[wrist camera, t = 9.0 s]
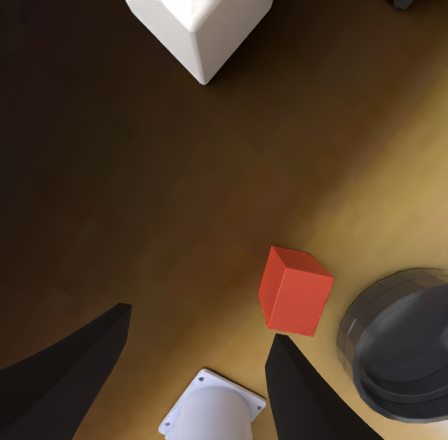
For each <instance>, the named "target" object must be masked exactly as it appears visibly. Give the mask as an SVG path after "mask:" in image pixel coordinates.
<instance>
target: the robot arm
mask: <svg viewBox="0 0 448 440" xmlns="http://www.w3.org/2000/svg"><path fill="white" fill-rule="evenodd" d="M131 309H132V305H129V304H124V303H118V304H116V305H115V306H113V307H112V308H111V309H109V310H108V311H106V312H105V313H103V314H102V315H100V316H99V317H97V318H96V319H94V320H93V321H91V322H90V323H88V324H87V325H85V326H83V327H82V328H80V329H79V330H77V331H76V332H74V333H72V334H71V335H69V336H67V337H65V338H64V339H62V340H60V341H59V342H57V343H55V344H53V345H52V346H50V347H48V348H46V349H44V350H42V351H40V352H38V353H36V354H34V355H32V356H30V357H28V358H26V359H24V360H22V361H20V362H18V363H16V364H13V365H11V366H9V367H7V368H4V369H2V370H0V440H72V438H73V436H74V434H75V432H76V430H77V429H78V427H79V425H80V423H81V421H82V420H83V418H84V416H85V414H86V413H87V411H88V409H89V408H90V406H91V404H92V403H93V401H94V399H95V398H96V396H97V394H98V393H99V391H100V389H101V388H102V386H103V384H104V383H105V381H106V379H107V378H108V376H109V374H110V373H111V371H112V369H113V368H114V366H115V364H116V362H117V360H118V358H119V356H120V354H121V352H122V350H123V347H124V345H125V343H126V341H127V335H128V328H129V322H130V316H131ZM265 372H266V382H267V390H268V395H269V399H270V404H271V409H272V413H273V418H274V422H275V426H276V431H277V435H278V440H384V439H383V438H382V437H381V436H380V435H379V434H378V433H376V432H375V431H374V430H373V429H372V428H371V427H370V426H369V425H368V424H367V423H366V422H364V421H363V420H362V419H361V418H360V417H359V416H358V415H357V414H356V413H355V412H354V411H353V410H352V409H351V408H350V407H349V406H348V405H347V404H346V403H345V402H344V401H343V400H342V399H341V398H340V397H339V395H338V394H337V393H336V392H335V391H334V390H333V389H332V388H331V387H330V386H329V384H328V383H327V382H326V381H325V380H324V379H323V378H322V376H321V375H320V374H319V373H318V372H317V371H316V369H315V368H314V367H313V366H312V365H311V363H310V362H309V361H308V360H307V358H306V357H305V356H304V355H303V353H302V352H301V351H300V350H299V349H298V347H297V346H296V345H295V344H294V342H293V341H292V340H291V339H290V338H289V337H288V336H287V335H282V334H277V333H276V335H275V338H274V341H273V344H272V347H271V350H270V353H269V356H268V359H267V362H266V365H265ZM201 377H203V378H201ZM265 406H266V400H265V399H264V398H262V397H260V396H258V395H256V394H254V393H252V392H250V391H249V390H247V389H245V388H243V387H241V386H239V385H237V384H235V383H233V382H231V381H229V380H227V379H225V378H223V377H221V376H219V375H217V374H215V373H213V372H211V371H209V370H208V369H202V370H200V372H199V373H198V374H197V376H196V377H195V378H194V380H193V381H192V382H191V384H190V385H189V386H188V388H187V389H186V390H185V392H184V393H183V394H182V396H181V397H180V398H179V400H178V401H177V403H176V404H175V405H174V407H173V408H172V409H171V411H170V412H169V413H168V415H167V416H166V417H165V419H164V420H163V421H162V423H161V424H160V426H159V429H158V430H159V432H160V433H162V434H164V435H166V436H165V440H253V439H252V430H251V422H252V421H253V420H254V419H255V418H256V417H257V415H258V414H259V413H260V412H261V411H262V410H263V408H264V407H265Z"/></svg>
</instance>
